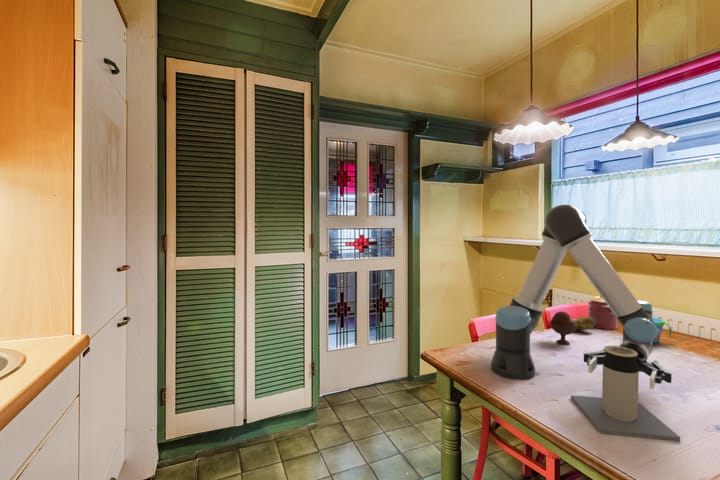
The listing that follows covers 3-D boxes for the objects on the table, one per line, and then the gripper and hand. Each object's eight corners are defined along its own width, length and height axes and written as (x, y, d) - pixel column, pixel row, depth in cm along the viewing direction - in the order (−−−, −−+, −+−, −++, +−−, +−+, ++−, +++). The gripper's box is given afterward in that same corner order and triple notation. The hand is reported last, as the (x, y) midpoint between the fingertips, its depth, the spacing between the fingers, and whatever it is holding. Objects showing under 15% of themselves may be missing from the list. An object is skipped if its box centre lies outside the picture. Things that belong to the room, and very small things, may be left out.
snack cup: (626, 339, 157) (626, 318, 156) (628, 334, 164) (628, 314, 164) (671, 347, 146) (672, 324, 146) (671, 341, 154) (672, 319, 153)
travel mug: (645, 421, 90) (646, 355, 89) (614, 420, 91) (615, 355, 90) (624, 405, 98) (625, 345, 97) (595, 404, 99) (596, 345, 98)
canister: (600, 330, 171) (601, 296, 171) (582, 323, 184) (582, 291, 183) (624, 329, 172) (625, 295, 172) (604, 322, 185) (604, 290, 184)
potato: (567, 327, 178) (568, 312, 177) (596, 332, 168) (597, 316, 168) (562, 330, 172) (562, 315, 172) (592, 336, 162) (592, 320, 162)
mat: (599, 433, 87) (600, 428, 87) (570, 398, 105) (570, 394, 105) (680, 441, 84) (680, 436, 84) (636, 403, 101) (636, 399, 101)
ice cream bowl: (581, 348, 147) (582, 314, 147) (554, 346, 149) (554, 313, 149) (571, 340, 158) (571, 308, 157) (545, 338, 160) (546, 307, 159)
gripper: (686, 378, 98) (681, 406, 83) (585, 355, 116) (567, 374, 101) (686, 353, 97) (682, 376, 83) (586, 334, 116) (567, 350, 101)
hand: (619, 375), depth 92 cm, fingers open, 13 cm apart
